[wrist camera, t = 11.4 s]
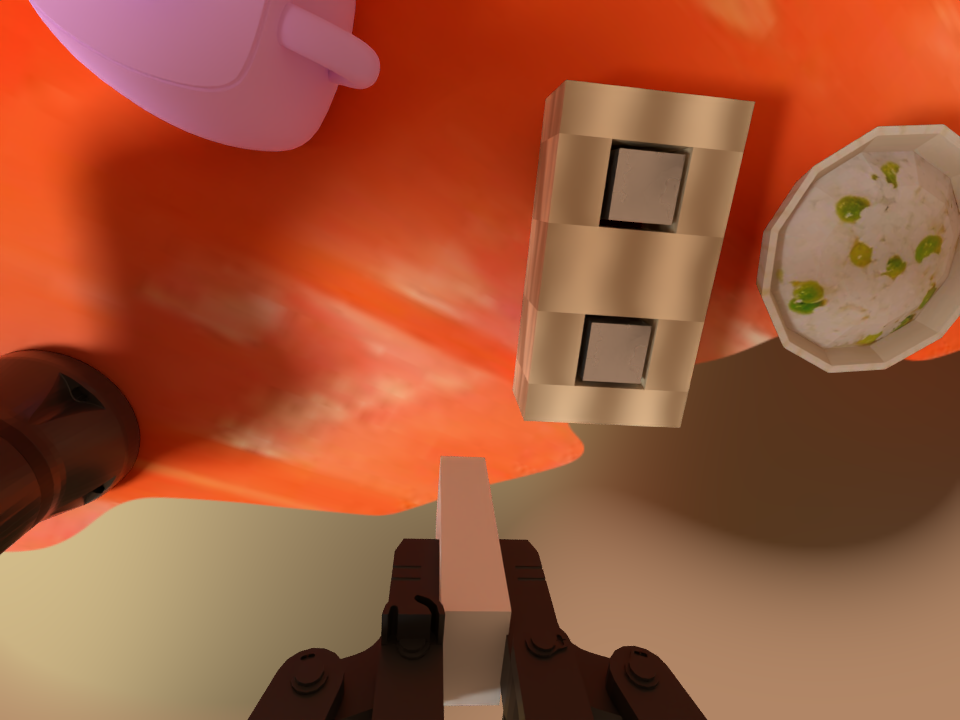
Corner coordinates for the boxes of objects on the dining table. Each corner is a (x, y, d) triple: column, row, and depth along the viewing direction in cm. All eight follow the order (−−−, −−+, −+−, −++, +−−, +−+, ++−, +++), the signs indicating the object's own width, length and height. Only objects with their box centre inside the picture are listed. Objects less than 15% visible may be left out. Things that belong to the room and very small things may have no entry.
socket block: (512, 390, 49) (524, 420, 42) (545, 98, 41) (566, 79, 34) (648, 397, 50) (680, 427, 44) (705, 116, 42) (755, 101, 36)
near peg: (584, 216, 43) (608, 219, 37) (593, 155, 42) (619, 148, 36) (639, 221, 44) (671, 225, 38) (649, 160, 42) (685, 154, 36)
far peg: (564, 356, 47) (582, 380, 41) (571, 305, 46) (592, 322, 40) (614, 359, 48) (640, 383, 42) (623, 309, 46) (651, 326, 40)
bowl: (845, 360, 51) (939, 398, 41) (674, 323, 48) (731, 355, 38) (938, 164, 45) (1070, 156, 36) (749, 109, 42) (838, 85, 33)
